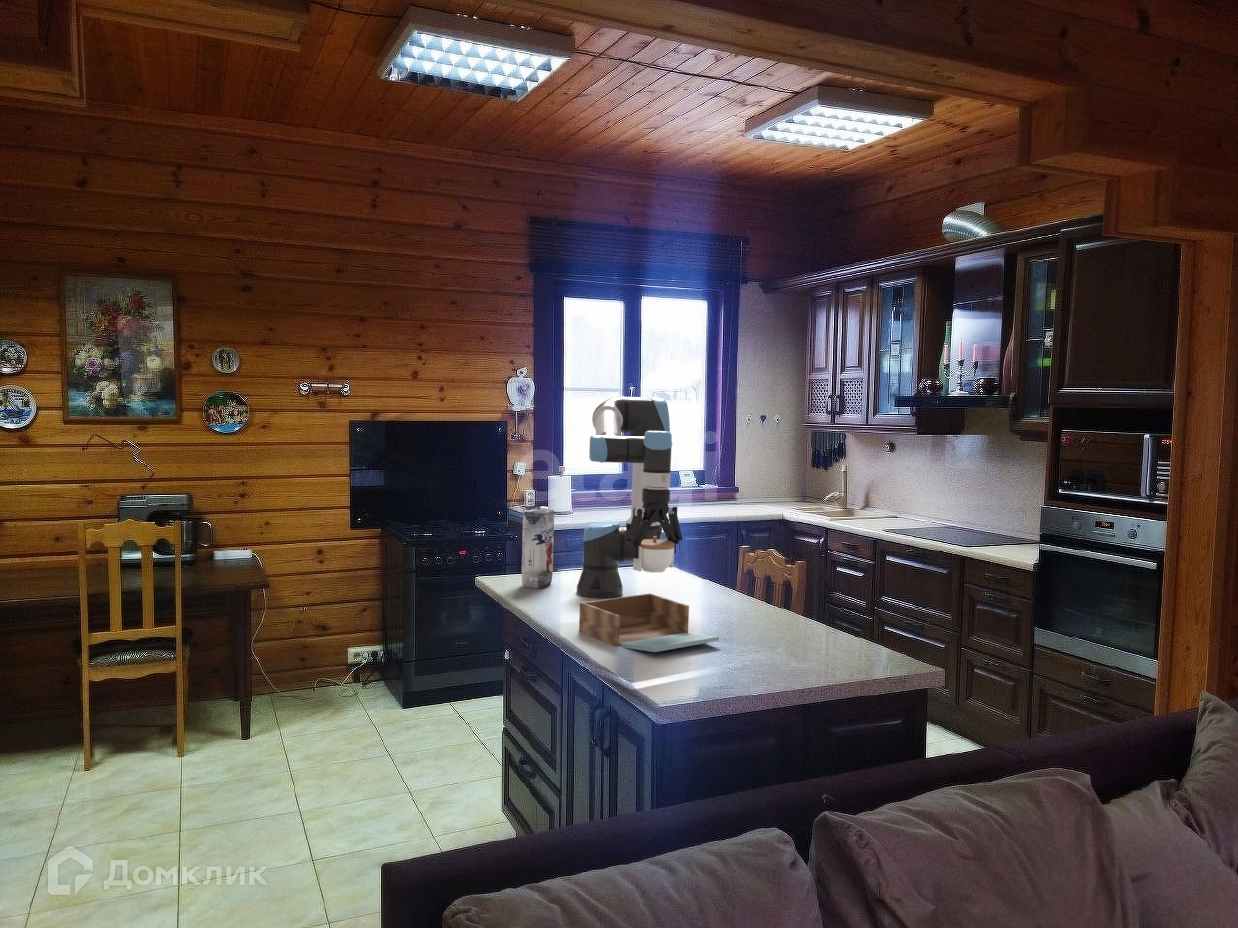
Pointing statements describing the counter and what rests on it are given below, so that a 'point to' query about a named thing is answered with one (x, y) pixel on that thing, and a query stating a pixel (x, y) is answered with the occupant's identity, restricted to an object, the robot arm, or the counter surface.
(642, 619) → the open wooden tray
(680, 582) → the counter surface
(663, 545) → the lidded jar
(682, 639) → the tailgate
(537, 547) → the juice carton
